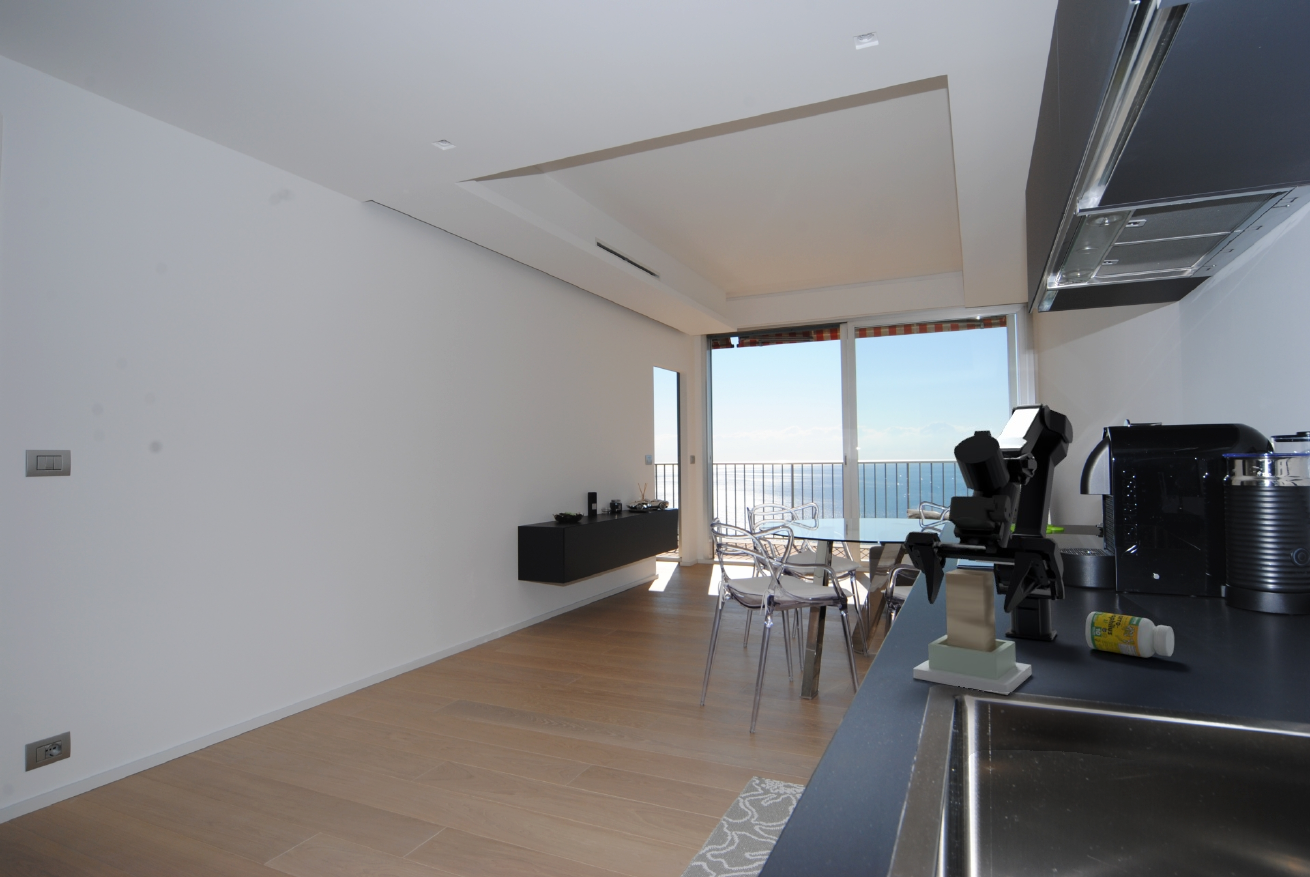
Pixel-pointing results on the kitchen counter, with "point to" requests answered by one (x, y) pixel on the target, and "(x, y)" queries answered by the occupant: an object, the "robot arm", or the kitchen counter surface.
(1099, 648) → the supplement bottle
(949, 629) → the brown box
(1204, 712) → the kitchen counter surface
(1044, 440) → the robot arm
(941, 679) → the caddy
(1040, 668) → the kitchen counter surface
